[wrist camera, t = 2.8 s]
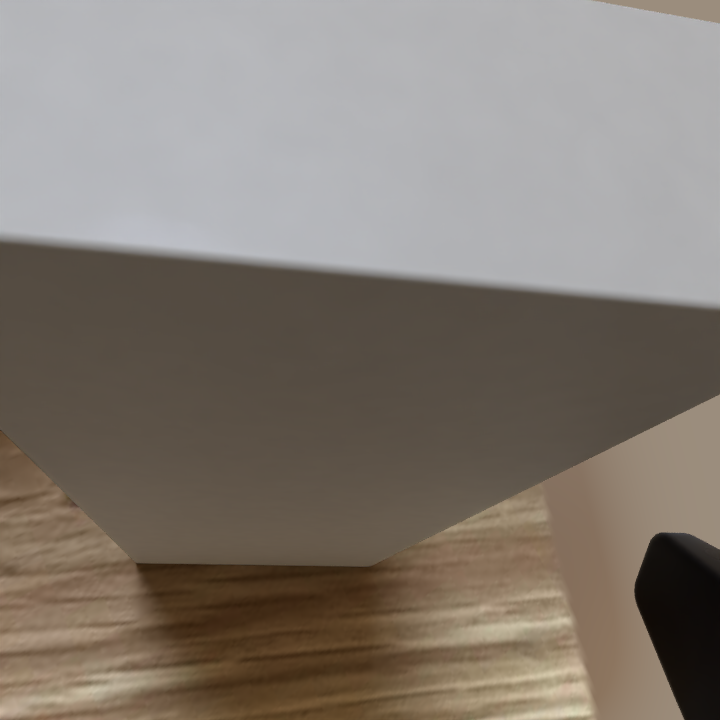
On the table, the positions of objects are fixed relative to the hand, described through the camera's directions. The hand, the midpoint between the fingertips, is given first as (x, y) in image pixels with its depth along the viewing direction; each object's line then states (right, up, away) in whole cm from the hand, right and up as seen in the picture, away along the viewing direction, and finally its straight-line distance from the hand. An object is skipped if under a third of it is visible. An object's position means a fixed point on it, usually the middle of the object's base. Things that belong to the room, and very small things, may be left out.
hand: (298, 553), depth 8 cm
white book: (-2, -2, +10) cm, 10 cm away
